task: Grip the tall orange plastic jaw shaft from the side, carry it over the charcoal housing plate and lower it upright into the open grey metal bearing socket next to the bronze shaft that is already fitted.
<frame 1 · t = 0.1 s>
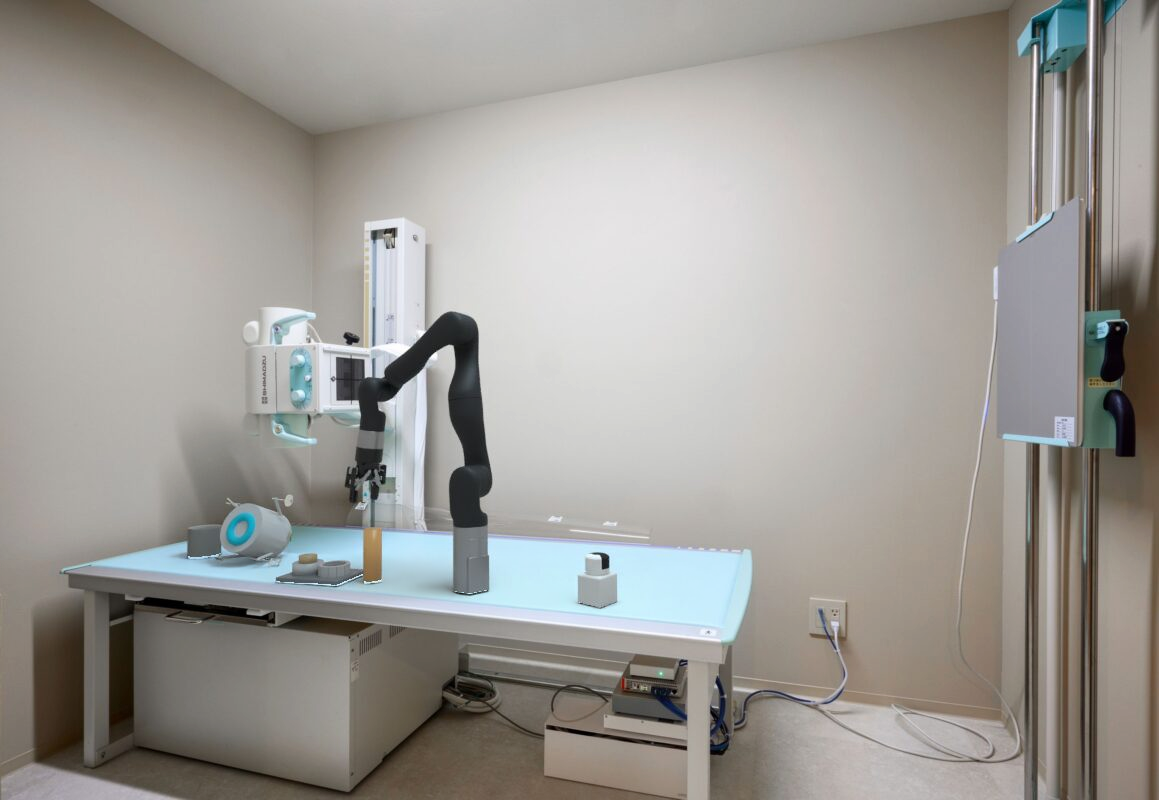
hand: (363, 501, 174), 22 cm above the table, tool pointing down, fingers open, 8 cm apart
coffee mug: (209, 555, 206), on the table
housing: (322, 578, 173), on the table
medicine bottle: (597, 603, 148), on the table
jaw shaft: (372, 582, 169), on the table
satellite: (255, 561, 196), on the table
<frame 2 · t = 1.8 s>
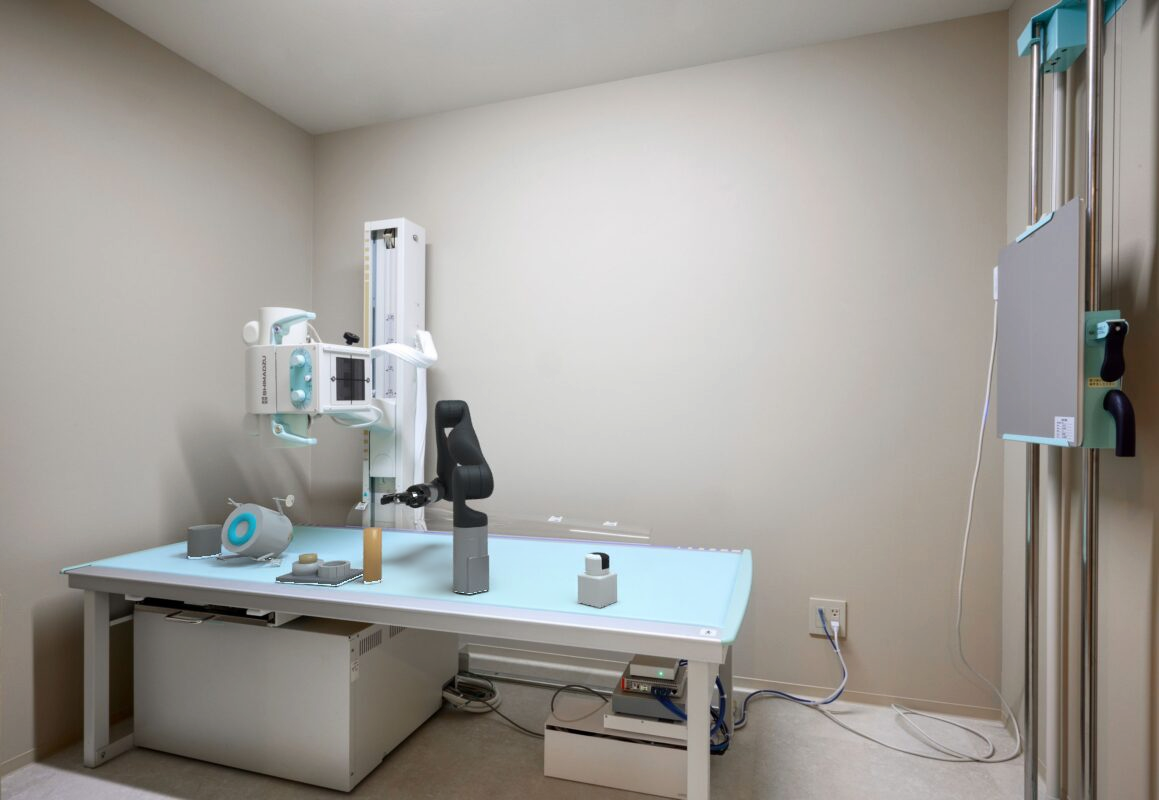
hand: (394, 501, 180), 21 cm above the table, tool horizontal, fingers open, 8 cm apart
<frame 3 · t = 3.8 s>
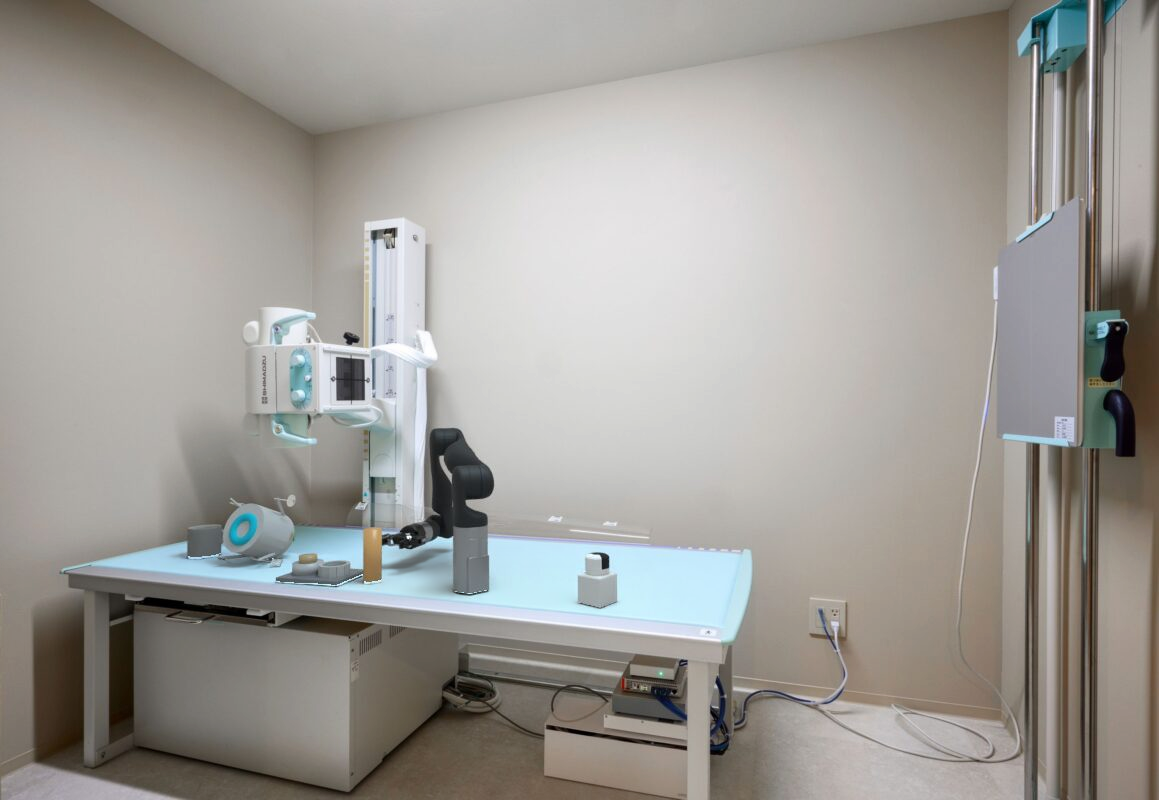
hand: (387, 544, 176), 9 cm above the table, tool horizontal, fingers open, 8 cm apart
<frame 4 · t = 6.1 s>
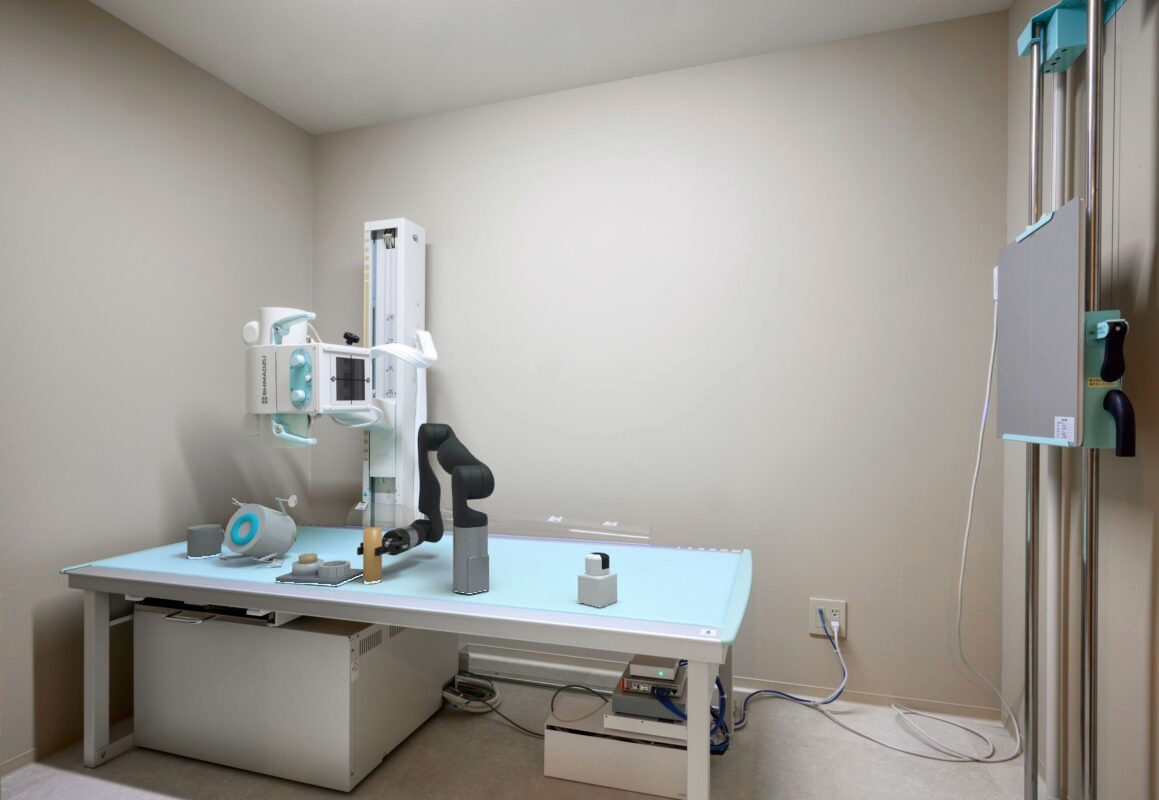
hand: (367, 551, 167), 9 cm above the table, tool horizontal, fingers closed on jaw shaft, 5 cm apart
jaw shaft: (372, 582, 169), on the table, touching gripper
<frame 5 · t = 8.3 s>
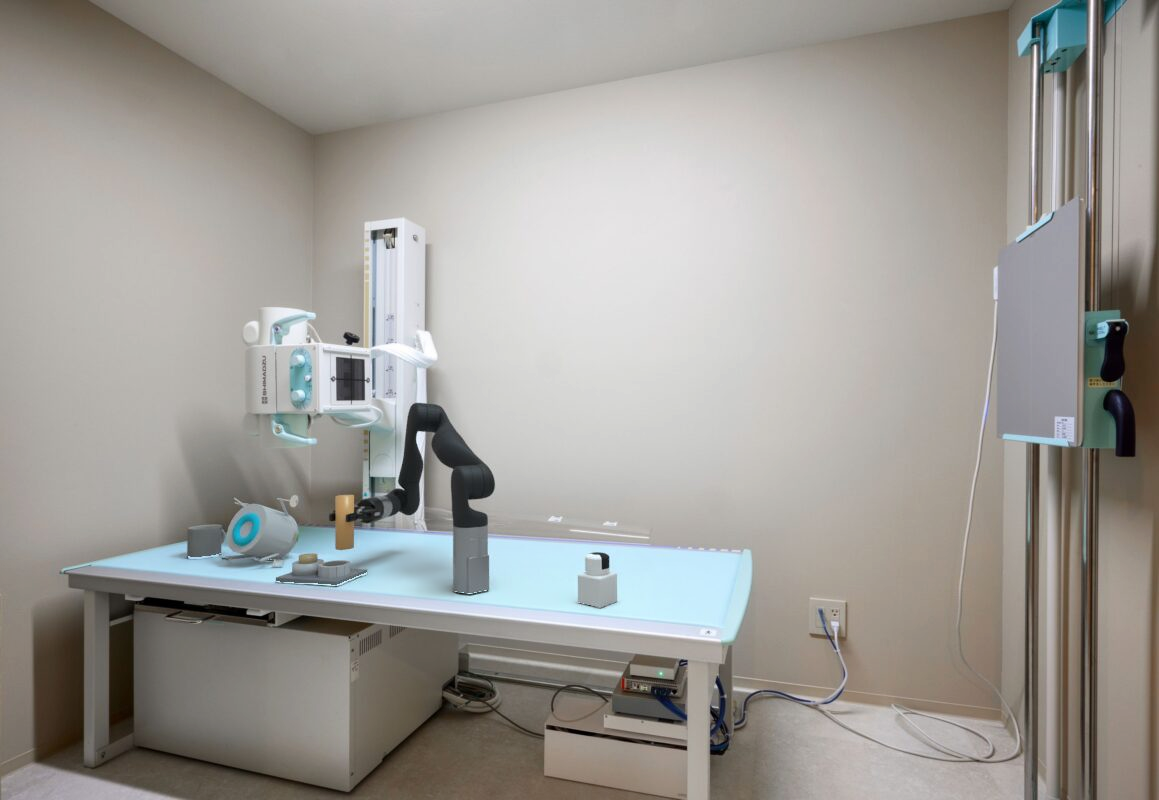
hand: (338, 518, 170), 18 cm above the table, tool horizontal, fingers closed on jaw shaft, 5 cm apart
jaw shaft: (344, 547, 172), point 9 cm above the table, touching gripper
when the fingers open (12 cm above the table, at t = 10.5 s): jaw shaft drops 1 cm, resting on housing.
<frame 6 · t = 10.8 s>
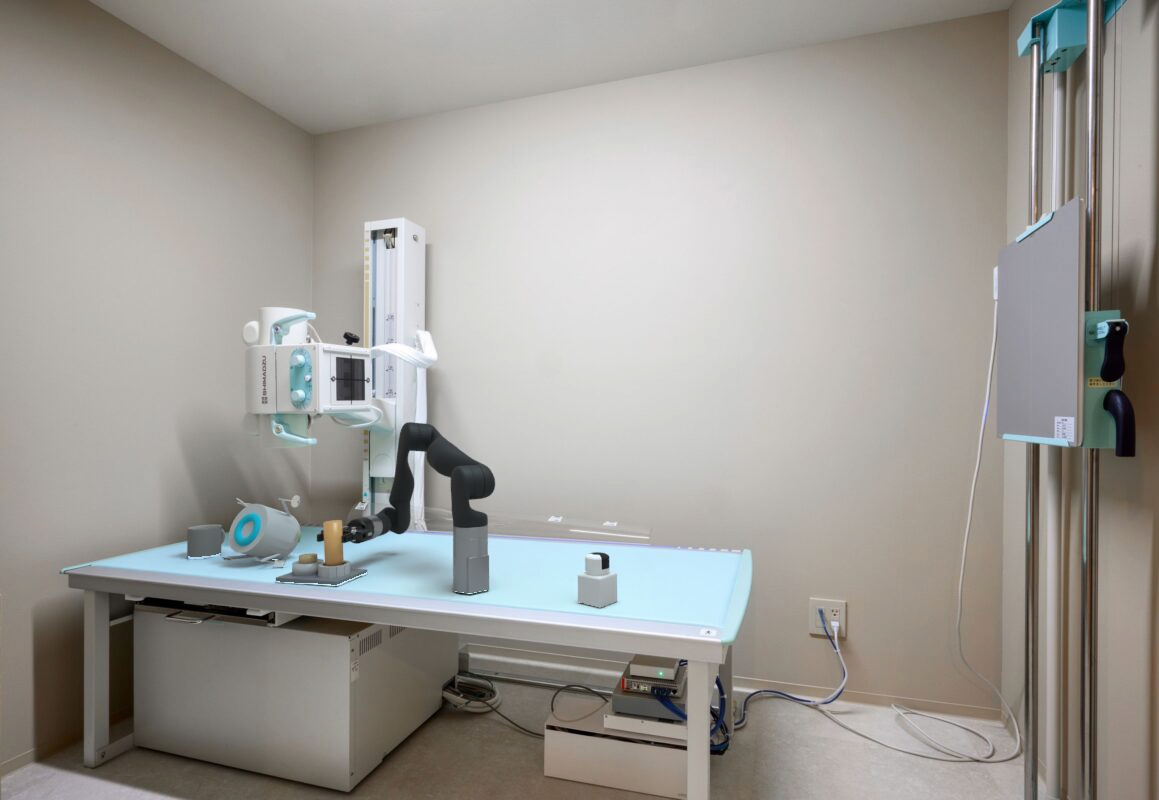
hand: (330, 538, 171), 12 cm above the table, tool horizontal, fingers open, 8 cm apart
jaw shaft: (334, 573, 172), point 2 cm above the table, touching housing
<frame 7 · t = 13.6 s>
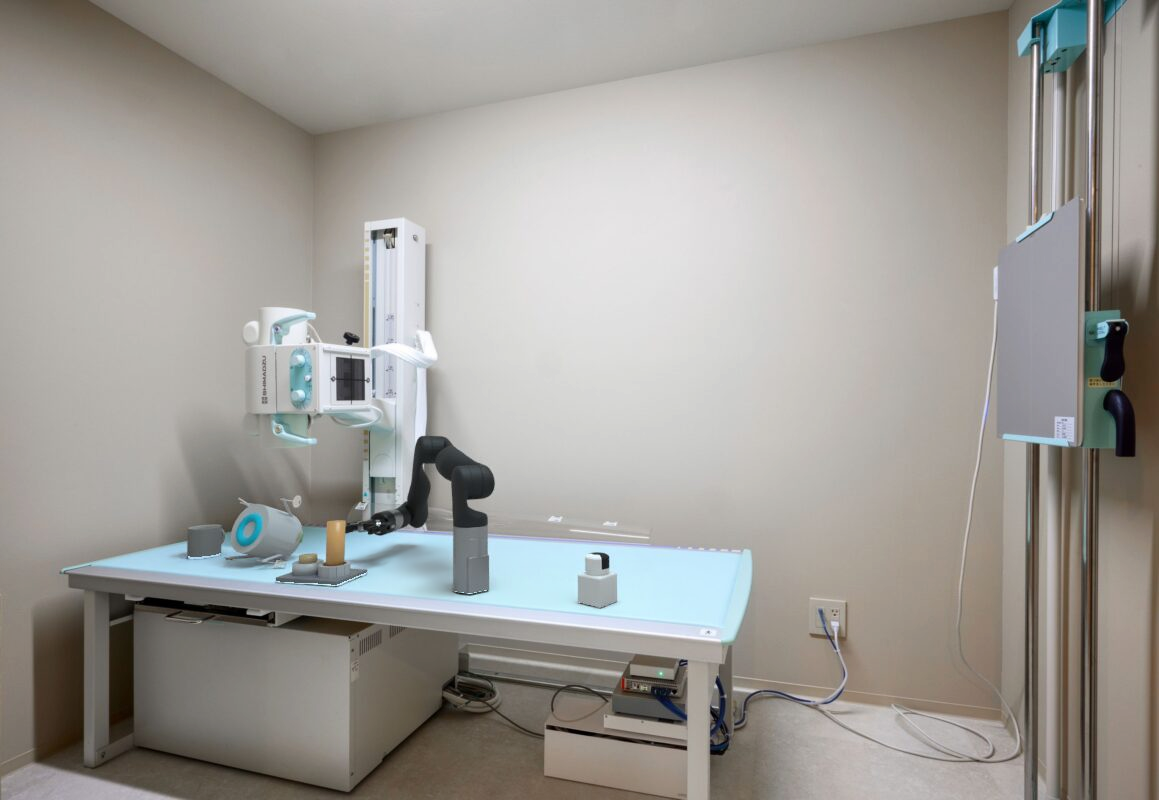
hand: (356, 530, 183), 12 cm above the table, tool horizontal, fingers open, 8 cm apart
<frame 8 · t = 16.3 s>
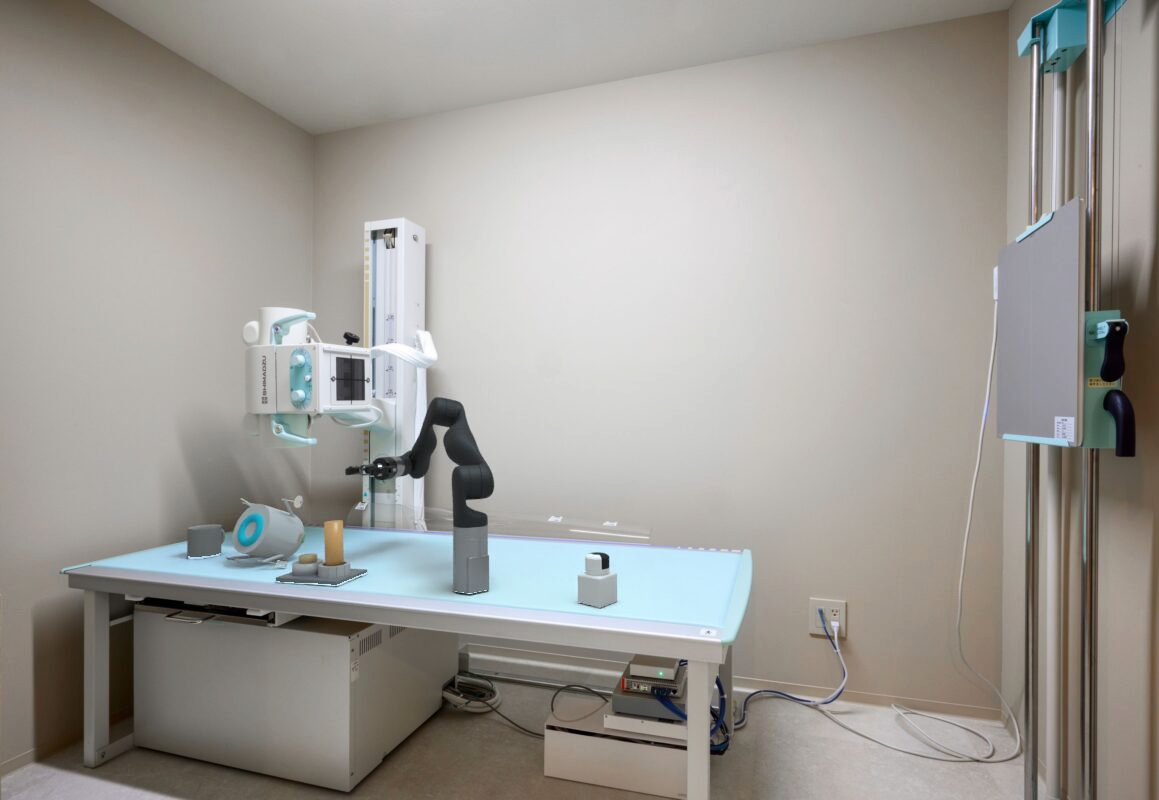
hand: (358, 471, 184), 30 cm above the table, tool horizontal, fingers open, 8 cm apart
at the end: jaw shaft 0.1 cm from the target spot on the housing, point 1.6 cm above the housing's base; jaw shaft tilted 1°; the gripper is holding nothing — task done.
